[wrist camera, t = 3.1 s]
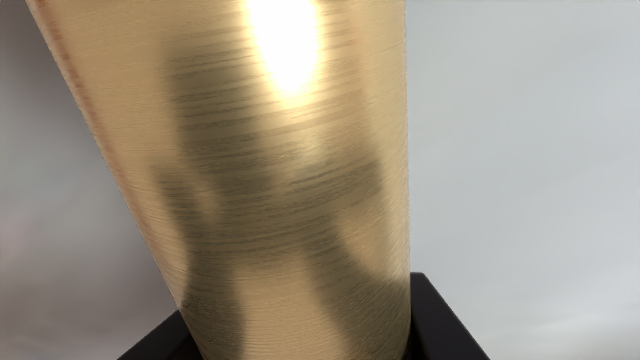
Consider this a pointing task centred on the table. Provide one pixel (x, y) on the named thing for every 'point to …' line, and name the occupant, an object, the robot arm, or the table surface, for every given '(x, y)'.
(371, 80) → the tube
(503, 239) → the table surface
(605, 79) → the table surface
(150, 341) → the robot arm
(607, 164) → the table surface
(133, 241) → the table surface
